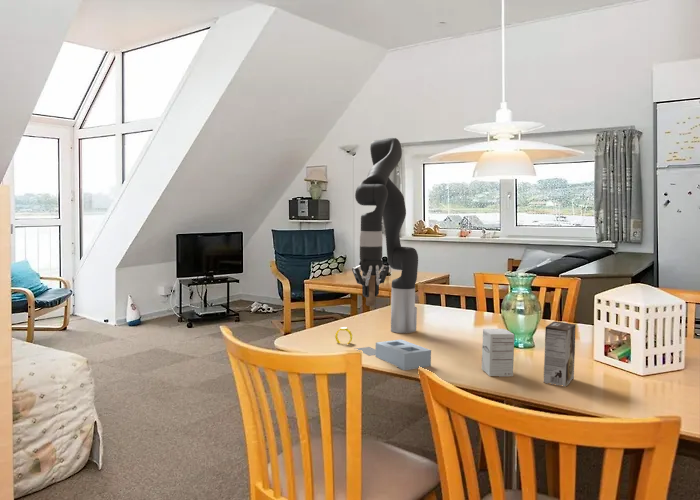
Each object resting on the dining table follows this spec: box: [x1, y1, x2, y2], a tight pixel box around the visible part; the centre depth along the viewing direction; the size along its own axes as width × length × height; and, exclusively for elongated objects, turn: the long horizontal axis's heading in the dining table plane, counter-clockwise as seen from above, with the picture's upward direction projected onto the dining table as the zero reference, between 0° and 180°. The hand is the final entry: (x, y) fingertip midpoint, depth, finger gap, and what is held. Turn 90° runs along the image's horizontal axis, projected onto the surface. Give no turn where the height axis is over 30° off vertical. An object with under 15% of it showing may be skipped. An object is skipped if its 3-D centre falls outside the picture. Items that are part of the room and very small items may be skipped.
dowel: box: [365, 275, 376, 307], centre depth 190 cm, size 3×3×10 cm
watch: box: [334, 326, 353, 345], centre depth 202 cm, size 6×3×6 cm, turn 71°
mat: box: [355, 346, 376, 357], centre depth 191 cm, size 6×10×1 cm, turn 30°
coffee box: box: [543, 321, 577, 387], centre depth 161 cm, size 9×6×16 cm
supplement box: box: [481, 328, 515, 377], centre depth 168 cm, size 7×7×13 cm
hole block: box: [374, 339, 432, 371], centre depth 180 cm, size 10×16×5 cm, turn 30°
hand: (370, 296), depth 190 cm, fingers closed on dowel, 3 cm apart
